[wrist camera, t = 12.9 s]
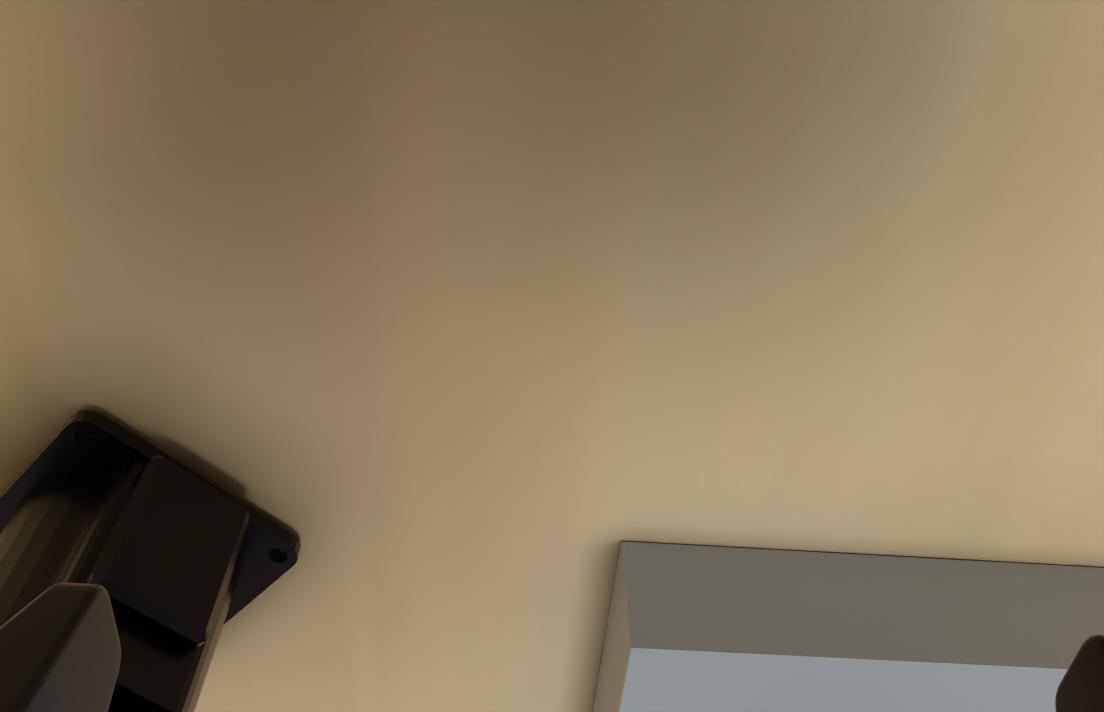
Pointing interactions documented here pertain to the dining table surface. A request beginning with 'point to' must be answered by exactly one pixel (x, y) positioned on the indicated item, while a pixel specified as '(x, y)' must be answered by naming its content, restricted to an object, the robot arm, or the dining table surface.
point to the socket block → (839, 632)
